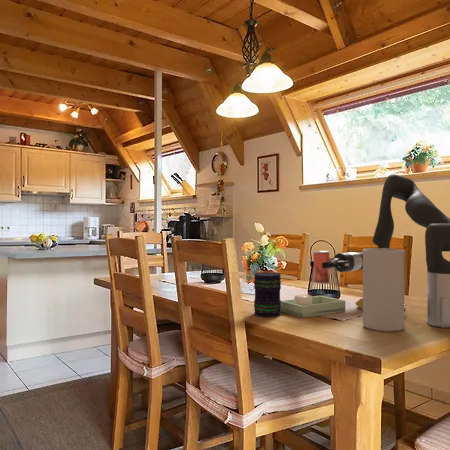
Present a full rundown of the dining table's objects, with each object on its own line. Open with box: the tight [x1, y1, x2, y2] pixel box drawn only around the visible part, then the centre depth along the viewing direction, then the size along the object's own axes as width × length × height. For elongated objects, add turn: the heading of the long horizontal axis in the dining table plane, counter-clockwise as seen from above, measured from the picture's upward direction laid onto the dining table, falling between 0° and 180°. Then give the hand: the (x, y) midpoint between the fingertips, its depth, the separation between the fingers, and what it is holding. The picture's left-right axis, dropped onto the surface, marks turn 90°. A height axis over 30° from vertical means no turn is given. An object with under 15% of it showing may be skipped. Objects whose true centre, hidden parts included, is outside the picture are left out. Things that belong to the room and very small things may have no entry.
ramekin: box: [294, 294, 313, 306], centre depth 161 cm, size 6×6×4 cm
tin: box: [312, 250, 331, 285], centre depth 165 cm, size 6×6×12 cm
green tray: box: [280, 295, 346, 319], centre depth 163 cm, size 21×13×4 cm, turn 121°
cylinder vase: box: [362, 247, 405, 333], centre depth 139 cm, size 12×12×25 cm
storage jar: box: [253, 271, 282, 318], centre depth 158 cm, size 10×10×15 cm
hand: (316, 264), depth 164 cm, fingers closed on tin, 6 cm apart
